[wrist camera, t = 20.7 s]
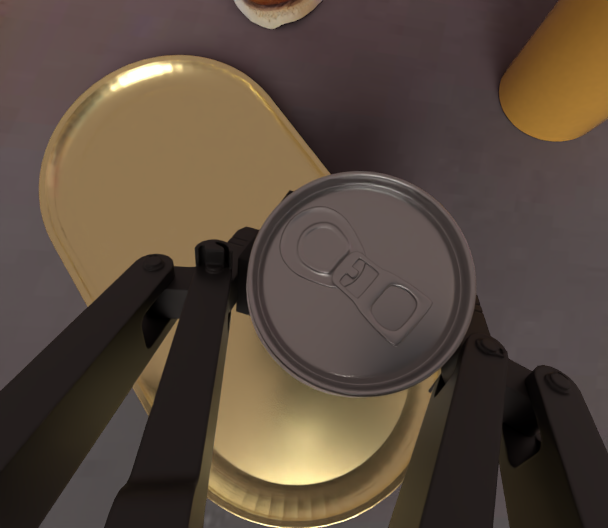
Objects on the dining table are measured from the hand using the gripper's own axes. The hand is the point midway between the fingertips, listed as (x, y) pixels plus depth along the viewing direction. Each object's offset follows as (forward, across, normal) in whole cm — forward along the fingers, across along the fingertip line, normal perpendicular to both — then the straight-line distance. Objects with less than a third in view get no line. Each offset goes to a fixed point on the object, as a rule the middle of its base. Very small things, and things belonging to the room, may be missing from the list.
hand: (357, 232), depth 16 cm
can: (0, 0, -5) cm, 5 cm away
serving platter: (+2, -8, -6) cm, 10 cm away
